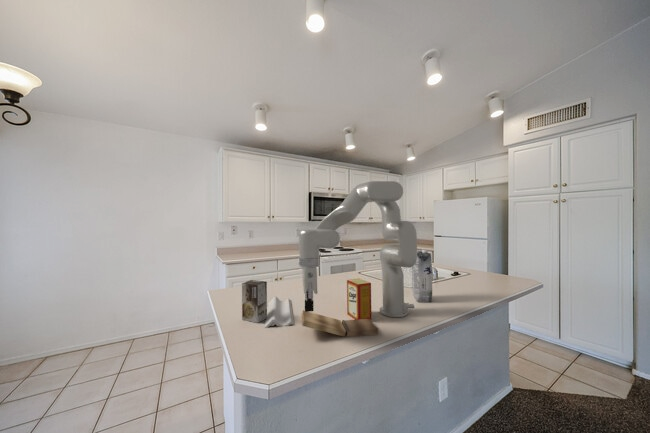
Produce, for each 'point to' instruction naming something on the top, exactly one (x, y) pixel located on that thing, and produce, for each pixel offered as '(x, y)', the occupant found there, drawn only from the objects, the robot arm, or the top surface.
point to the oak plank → (322, 323)
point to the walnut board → (359, 327)
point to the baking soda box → (359, 299)
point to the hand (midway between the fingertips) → (309, 310)
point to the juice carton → (422, 277)
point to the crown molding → (279, 313)
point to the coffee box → (254, 301)
